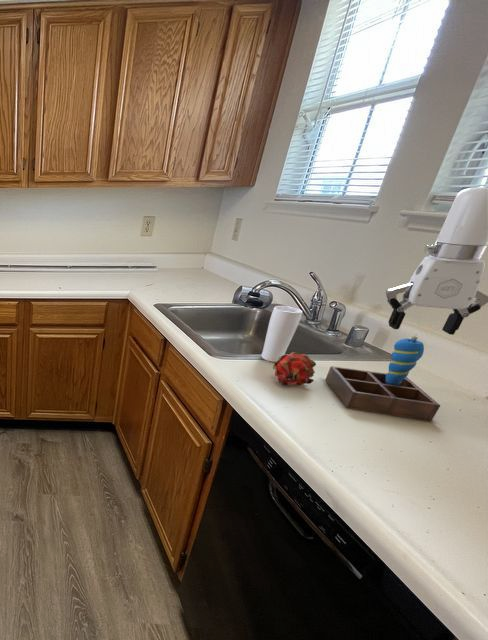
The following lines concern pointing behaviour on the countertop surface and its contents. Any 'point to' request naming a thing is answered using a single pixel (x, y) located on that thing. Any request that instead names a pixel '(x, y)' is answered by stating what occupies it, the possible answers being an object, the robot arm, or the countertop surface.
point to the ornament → (403, 359)
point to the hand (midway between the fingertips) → (420, 330)
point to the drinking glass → (280, 332)
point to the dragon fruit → (294, 369)
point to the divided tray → (380, 394)
